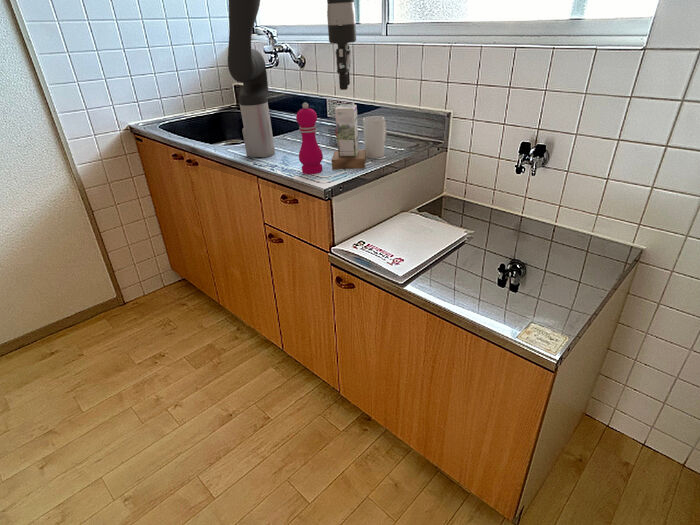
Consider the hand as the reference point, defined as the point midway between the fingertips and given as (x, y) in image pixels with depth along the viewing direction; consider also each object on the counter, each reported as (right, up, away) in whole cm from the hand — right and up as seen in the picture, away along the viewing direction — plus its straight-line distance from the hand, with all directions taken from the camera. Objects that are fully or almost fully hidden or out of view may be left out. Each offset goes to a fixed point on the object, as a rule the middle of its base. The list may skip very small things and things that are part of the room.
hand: (345, 87), depth 123 cm
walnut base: (+1, -20, +11) cm, 23 cm away
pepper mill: (-10, -23, +7) cm, 26 cm away
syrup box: (+1, -17, +10) cm, 20 cm away
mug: (+11, -15, +19) cm, 26 cm away
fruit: (0, -7, +34) cm, 35 cm away
